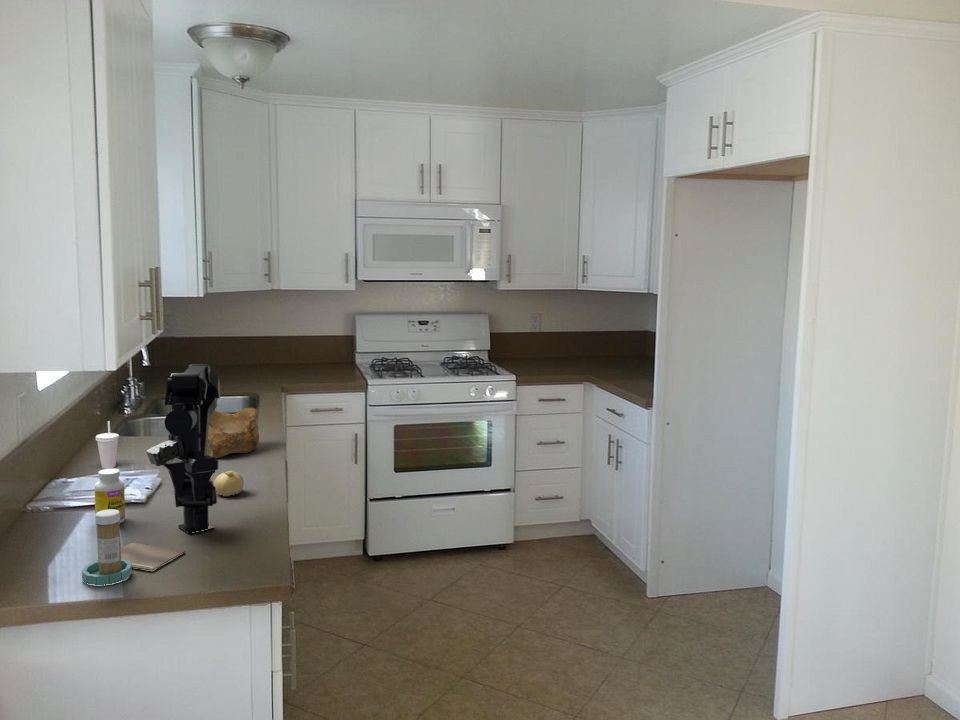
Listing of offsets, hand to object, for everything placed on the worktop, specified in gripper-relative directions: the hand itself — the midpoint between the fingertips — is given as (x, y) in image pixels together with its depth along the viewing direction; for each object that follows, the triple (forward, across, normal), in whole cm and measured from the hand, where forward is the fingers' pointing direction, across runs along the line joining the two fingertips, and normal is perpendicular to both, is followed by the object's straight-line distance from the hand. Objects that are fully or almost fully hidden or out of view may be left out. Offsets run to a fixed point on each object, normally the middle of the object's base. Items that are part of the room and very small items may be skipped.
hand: (187, 497), depth 185 cm
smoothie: (+6, -74, +10) cm, 75 cm away
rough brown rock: (+5, -66, +43) cm, 79 cm away
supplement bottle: (+10, -28, -7) cm, 30 cm away
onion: (+9, -29, +25) cm, 39 cm away
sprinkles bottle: (+13, +4, -19) cm, 23 cm away
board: (+12, -1, -10) cm, 16 cm away
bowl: (+13, +4, -19) cm, 24 cm away
